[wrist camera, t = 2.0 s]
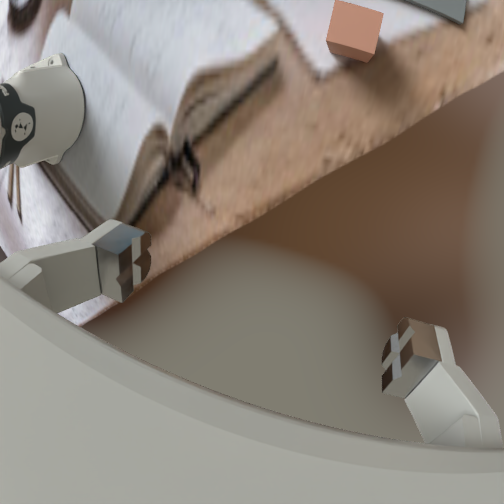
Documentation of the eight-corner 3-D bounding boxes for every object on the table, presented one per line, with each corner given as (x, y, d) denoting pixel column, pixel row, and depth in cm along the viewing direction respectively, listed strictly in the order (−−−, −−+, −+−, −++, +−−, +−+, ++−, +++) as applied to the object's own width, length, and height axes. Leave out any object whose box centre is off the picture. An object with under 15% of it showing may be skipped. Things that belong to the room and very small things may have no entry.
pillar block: (330, 52, 27) (326, 40, 20) (337, 19, 25) (335, -1, 18) (367, 63, 26) (374, 54, 20) (374, 30, 24) (383, 13, 17)
